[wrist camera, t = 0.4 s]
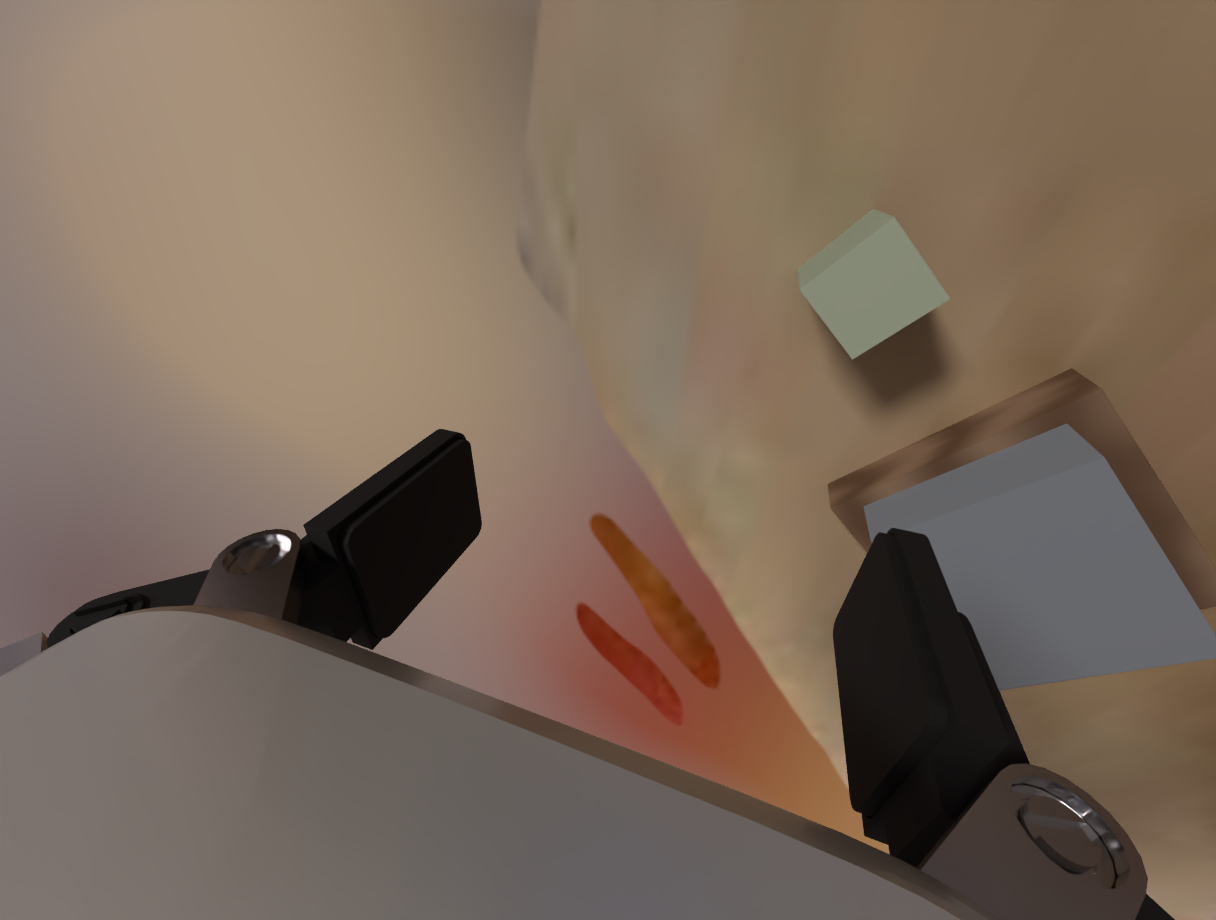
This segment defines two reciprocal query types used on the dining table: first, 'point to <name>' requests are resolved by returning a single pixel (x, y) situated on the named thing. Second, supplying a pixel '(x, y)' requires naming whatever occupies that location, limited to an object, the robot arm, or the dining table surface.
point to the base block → (1017, 422)
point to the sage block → (869, 283)
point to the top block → (1051, 564)
